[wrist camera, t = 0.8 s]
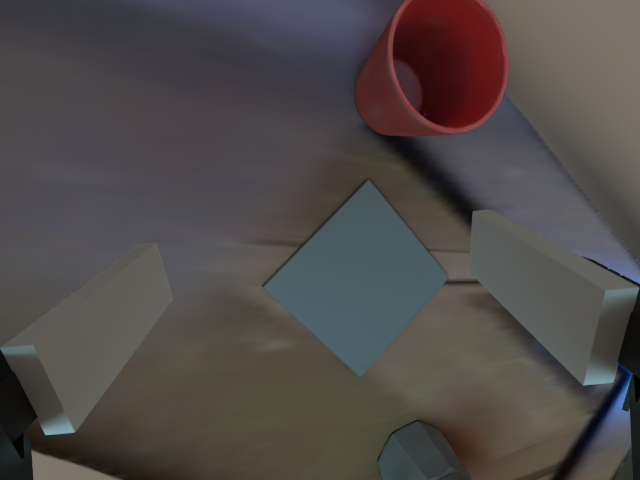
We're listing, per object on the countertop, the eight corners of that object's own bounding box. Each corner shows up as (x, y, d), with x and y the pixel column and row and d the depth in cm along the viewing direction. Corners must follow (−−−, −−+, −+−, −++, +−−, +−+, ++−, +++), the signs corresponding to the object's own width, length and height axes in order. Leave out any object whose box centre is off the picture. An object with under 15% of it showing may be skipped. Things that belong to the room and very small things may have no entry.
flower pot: (383, 14, 33) (450, -56, 24) (451, 97, 36) (532, 63, 27) (317, 94, 32) (360, 52, 23) (393, 172, 35) (457, 163, 26)
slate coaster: (262, 286, 32) (263, 287, 32) (366, 179, 34) (369, 179, 34) (358, 374, 37) (360, 377, 36) (445, 276, 39) (448, 277, 38)
